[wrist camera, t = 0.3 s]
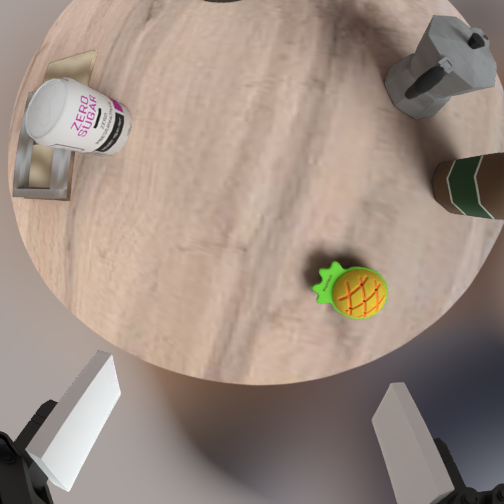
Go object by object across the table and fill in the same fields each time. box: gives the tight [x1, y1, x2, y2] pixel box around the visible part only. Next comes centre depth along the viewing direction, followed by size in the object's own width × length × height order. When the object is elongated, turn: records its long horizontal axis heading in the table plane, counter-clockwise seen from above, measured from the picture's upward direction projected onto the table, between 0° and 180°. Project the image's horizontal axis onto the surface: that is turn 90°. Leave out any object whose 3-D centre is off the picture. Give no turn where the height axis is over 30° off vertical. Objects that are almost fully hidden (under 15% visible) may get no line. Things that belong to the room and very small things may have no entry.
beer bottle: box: [432, 153, 504, 220], centre depth 21 cm, size 8×8×24 cm
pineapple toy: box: [312, 261, 388, 319], centre depth 34 cm, size 7×10×5 cm
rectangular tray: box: [13, 50, 98, 201], centre depth 35 cm, size 26×12×4 cm, turn 173°
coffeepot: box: [384, 15, 497, 119], centre depth 22 cm, size 15×9×18 cm, turn 132°
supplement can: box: [25, 77, 132, 156], centre depth 29 cm, size 8×8×15 cm
